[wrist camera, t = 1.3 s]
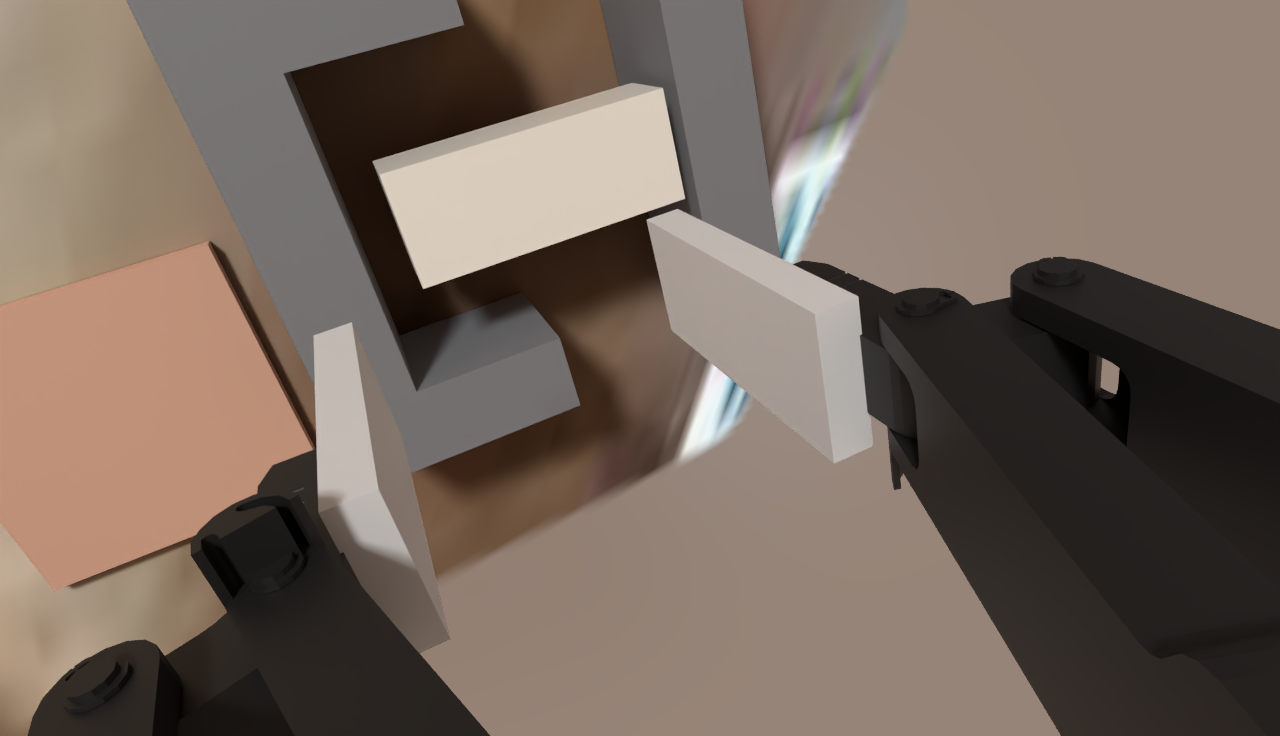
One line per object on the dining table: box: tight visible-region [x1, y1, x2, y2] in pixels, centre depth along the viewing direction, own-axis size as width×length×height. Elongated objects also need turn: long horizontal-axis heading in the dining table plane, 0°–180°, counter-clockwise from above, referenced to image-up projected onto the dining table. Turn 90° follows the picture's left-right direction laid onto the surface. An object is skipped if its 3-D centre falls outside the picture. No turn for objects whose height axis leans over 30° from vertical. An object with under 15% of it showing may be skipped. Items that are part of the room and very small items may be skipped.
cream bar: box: [372, 83, 685, 289], centre depth 28 cm, size 10×4×3 cm, turn 104°
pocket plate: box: [126, 0, 780, 473], centre depth 29 cm, size 18×17×6 cm
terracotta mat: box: [0, 241, 315, 591], centre depth 30 cm, size 11×11×1 cm
